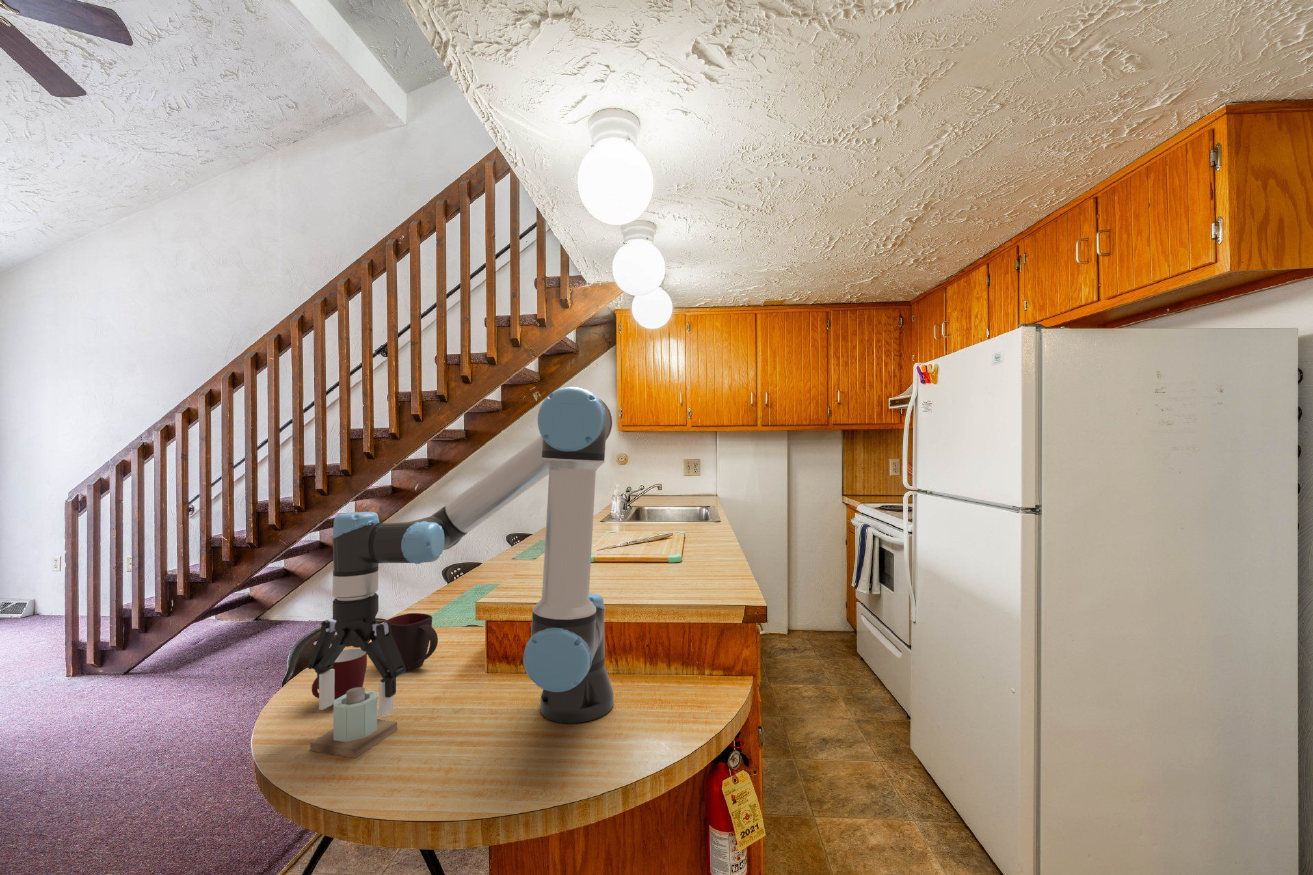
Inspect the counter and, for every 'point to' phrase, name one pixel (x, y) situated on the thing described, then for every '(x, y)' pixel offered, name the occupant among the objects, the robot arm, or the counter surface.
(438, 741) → the counter surface
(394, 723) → the post stand
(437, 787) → the counter surface
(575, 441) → the robot arm
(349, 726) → the ring
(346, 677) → the mug
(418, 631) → the mug
